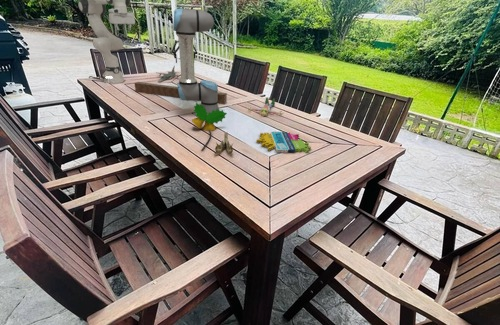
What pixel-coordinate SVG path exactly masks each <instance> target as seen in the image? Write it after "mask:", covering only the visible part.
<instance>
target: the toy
mask: <svg viewBox="0 0 500 325" xmlns="http://www.w3.org/2000/svg"><path fill="white" fill-rule="evenodd" d="M275 105H276V99H275V98H272V100H271V102H270V100H269V97H265V100H264V105H263V106H262V107H261V108H252V107H251V106H249V107H246V109H247V111H249V112H251V111H253V112H259V113H258V115H260V116H262V117H267V116H268V117H269V114H273V115H275V114H276V115H280V116H283V115H284V112H282V110H280V111H279V112H277V111H274V110H271V109H272V107H275ZM268 113H269V114H268Z"/></svg>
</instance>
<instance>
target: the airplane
mask: <svg viewBox="0 0 500 325" xmlns="http://www.w3.org/2000/svg"><path fill="white" fill-rule="evenodd" d="M157 74H159V75H158V77H160V78H159V79H158V81H157V83H161V82H164V81H165V80H172V79H173V78H175V79H177V78H179V77H181V74H178V71H177V72H175V65H173V67H172V69H171V71H167V73H164V72H157Z"/></svg>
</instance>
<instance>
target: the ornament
mask: <svg viewBox="0 0 500 325" xmlns="http://www.w3.org/2000/svg"><path fill="white" fill-rule="evenodd" d="M219 110H220V108H219V109H217V110H216V111H214V110H212V112H211V113H208V112H206V109H204V106H201V103H198V102H195V105H194V106H193V112H194V113H195V118H192V119H191V122H192V123H193V125H195V127H197V128H198V129H202V130H203V131H206V132H209V130H210V131H211V132H212V131H213V132H214V131H215V130H216V126H215V124H218V123H219V122H223V119H226V115H227V114H228V113H227V112H224V110H223V109H221V110H220V111H219ZM207 113H208V115H207ZM214 123H215V124H214Z"/></svg>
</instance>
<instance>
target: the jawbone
mask: <svg viewBox="0 0 500 325" xmlns="http://www.w3.org/2000/svg"><path fill="white" fill-rule="evenodd" d="M223 135H224V136H223V140H222V139H221V142H220V144H218V142H215V144H216V146H215V148H214V149H215V152H214V154H215V155H217V156H218V155H220V153H221V152H223V151H224V150H226V152H227V153H228V155H229V156H233V155H234V154H233V153H234V148H233V144H234V143H230V140H228V139H229V138H228V137H229V136H228V135H229V133H228V131H226V132H224V134H223Z"/></svg>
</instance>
